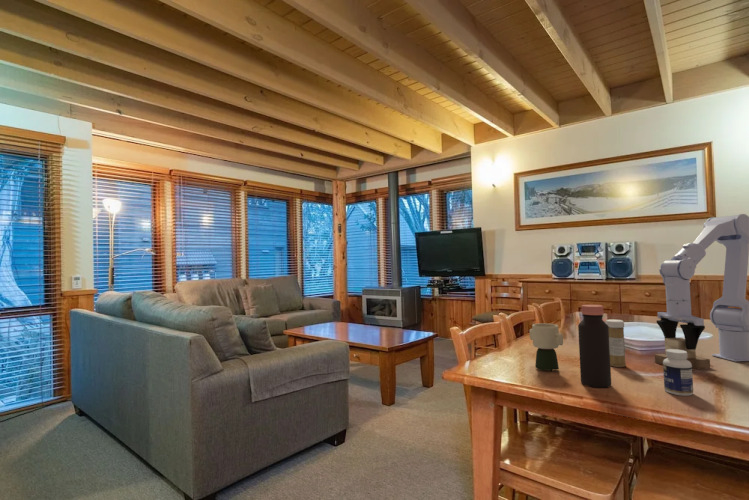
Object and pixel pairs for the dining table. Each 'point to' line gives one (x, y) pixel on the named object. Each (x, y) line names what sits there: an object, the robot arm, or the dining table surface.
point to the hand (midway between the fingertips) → (680, 346)
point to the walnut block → (696, 362)
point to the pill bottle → (677, 373)
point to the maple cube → (679, 346)
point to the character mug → (546, 345)
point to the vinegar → (594, 348)
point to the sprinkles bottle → (616, 342)
